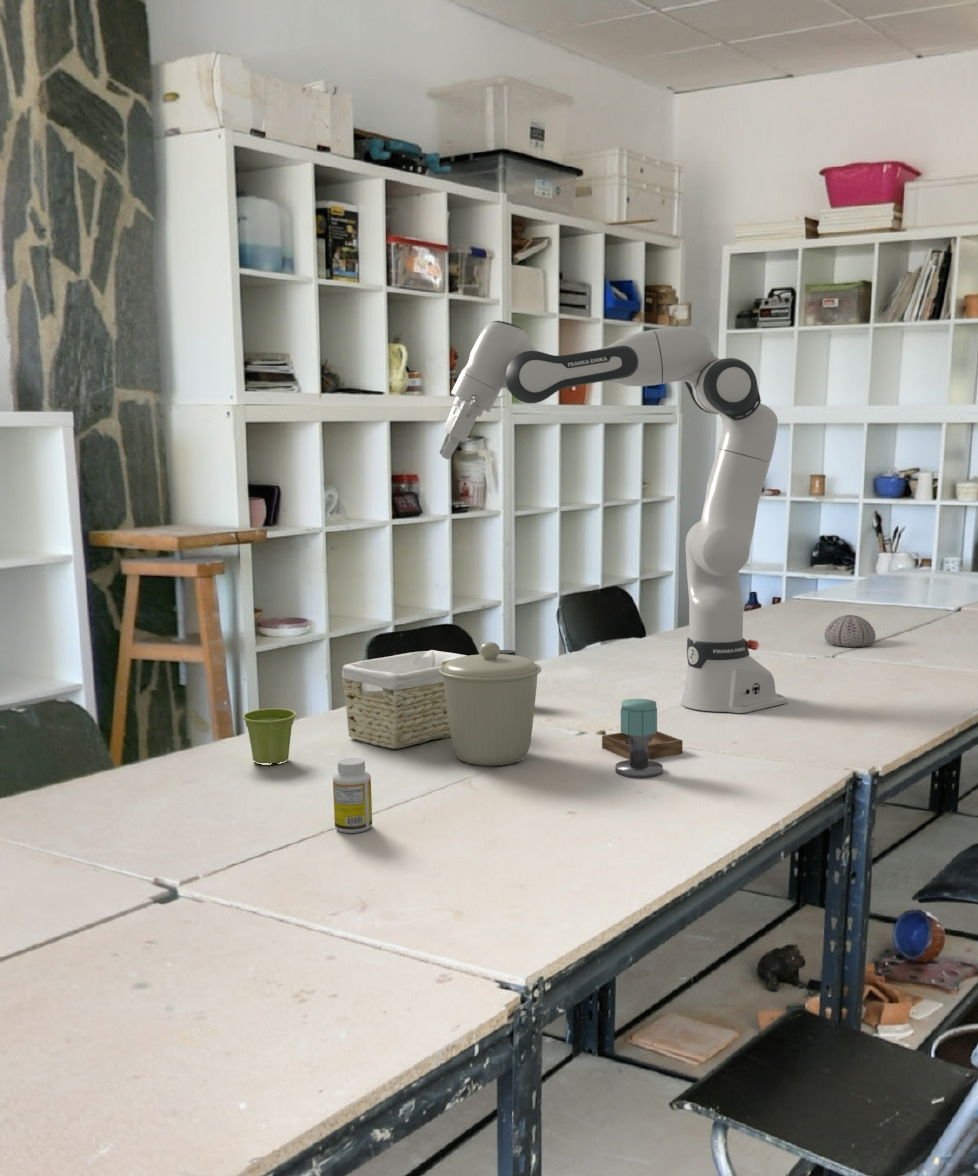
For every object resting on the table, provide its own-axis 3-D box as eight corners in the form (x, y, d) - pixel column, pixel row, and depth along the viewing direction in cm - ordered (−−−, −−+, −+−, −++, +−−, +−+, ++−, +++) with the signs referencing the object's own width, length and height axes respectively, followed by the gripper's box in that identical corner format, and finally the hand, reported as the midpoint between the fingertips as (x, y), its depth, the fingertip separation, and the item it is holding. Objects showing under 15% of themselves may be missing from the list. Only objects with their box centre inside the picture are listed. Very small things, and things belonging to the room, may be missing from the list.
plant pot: (307, 756, 217) (305, 710, 216) (281, 770, 208) (279, 722, 207) (261, 753, 220) (259, 707, 219) (234, 766, 211) (232, 718, 210)
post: (645, 762, 209) (645, 701, 208) (672, 773, 202) (672, 710, 201) (606, 769, 206) (606, 706, 204) (632, 780, 199) (632, 715, 197)
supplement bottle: (354, 819, 181) (352, 753, 180) (380, 827, 177) (378, 759, 176) (326, 829, 177) (324, 761, 175) (352, 837, 173) (350, 768, 172)
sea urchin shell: (867, 651, 312) (868, 620, 311) (816, 646, 320) (817, 616, 319) (881, 643, 323) (882, 613, 322) (831, 639, 331) (832, 610, 330)
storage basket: (431, 717, 246) (429, 647, 244) (487, 730, 235) (486, 656, 233) (339, 740, 229) (337, 664, 227) (396, 754, 218) (393, 675, 216)
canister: (474, 778, 201) (472, 655, 199) (422, 755, 217) (419, 640, 214) (562, 762, 211) (561, 643, 208) (506, 740, 226) (504, 630, 223)
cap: (643, 725, 207) (643, 697, 206) (663, 732, 202) (663, 703, 201) (615, 729, 204) (615, 701, 204) (634, 737, 199) (634, 707, 199)
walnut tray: (649, 740, 224) (649, 728, 224) (682, 753, 215) (682, 740, 215) (602, 748, 220) (602, 735, 219) (633, 761, 210) (633, 748, 210)
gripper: (492, 403, 234) (460, 467, 235) (483, 401, 254) (454, 460, 256) (463, 388, 233) (431, 452, 234) (456, 388, 253) (428, 447, 255)
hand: (443, 456), depth 245 cm, fingers open, 8 cm apart
